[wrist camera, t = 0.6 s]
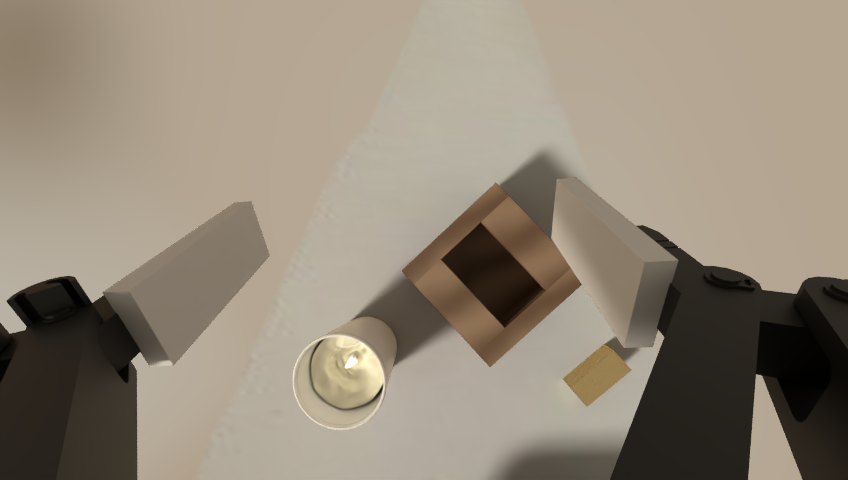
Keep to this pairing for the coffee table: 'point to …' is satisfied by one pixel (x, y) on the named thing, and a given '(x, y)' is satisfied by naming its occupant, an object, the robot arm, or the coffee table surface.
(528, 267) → the box
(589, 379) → the yellow rectangular block
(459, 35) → the coffee table surface
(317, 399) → the candle holder
